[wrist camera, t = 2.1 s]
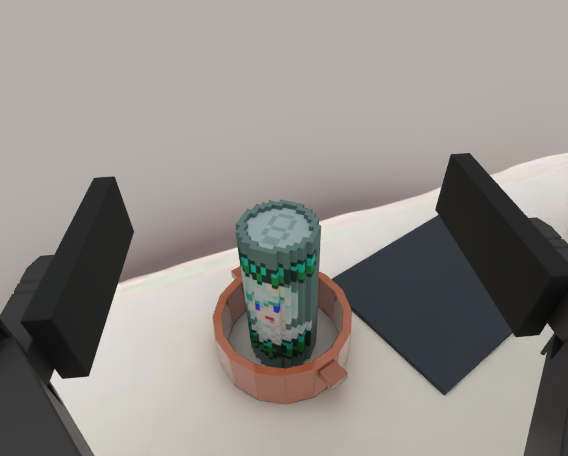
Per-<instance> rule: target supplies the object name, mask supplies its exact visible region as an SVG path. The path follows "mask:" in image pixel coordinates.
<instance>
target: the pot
mask: <svg viewBox="0 0 568 456" xmlns="http://www.w3.org/2000/svg"><path fill="white" fill-rule="evenodd" d="M231 272H232V277H233V278H234V279H235V280H234V281H233V282H232V283H231V284H230V285H229V286H228V287H227V288H226V289H225V291H224V292H223V293H222V294H221V295H220V297H219V300H218V303H217V306H216V308H215V311H214V314H213V324H214V332H215V339H216V343H217V347H218V352H219V356H220V360H221V364H222V367H223V368H224V370H225V371H226V373H227V374H228V376H229V377H230V379H231V380H232V382H233V383H234V385H235V386H236V387H238V388H239V389H241V390H243V391H244V392H246V393H247V394H249V395H251V396H252V397H254V398H256V399H257V400H261V401H268V402H275V403H282V404H286V403H287V404H288V403H292V402H296V401H300V400H304V399H308V398H312V397H315V396H316V395H317V394H319V393H320V392H321V391H323V390H324V389H325V388H327V387H328V388H329V389H330V390H333V389H334V388H335V387H337V386H338V385H339V384H341V383H342V382H343V381H345V380H346V379H347V374H348V373H347V372H346V371H345V370H344V369H343V366H344V364H345V362H346V361H347V356H348V348H349V341H350V334H351V312H352V310H351V307H350V305H349V303H348V301H347V299H346V296H345V294H344V292H343V290H342V289H341V288H340V287H339V286H338V285H337V284H336V283H334V282H333V281H332V280H331V279H330V278H329V277H328V276H327V275H325V274H323V273H321V272H319V282H318V305H317V306H319V307H320V308H321V309H322V310H323V311H324V312H325V313H326V314H327V315H328V316H329V317H330V318H331V319H332V320H333V322H334V325H335V327H336V330H337V332H338V334H339V335H338V337H337V339H336V340H335V342H334V344H333V346H332V347H331V349H329V350H328V351H327V352H325V353H324V354H322V355H321V356H319V357H318V358H317V359H315V360H314V361H312V362H311V363H307V364H303V365H299V366H294V367H290V368H286V369H284V368H276V367H268V366H261V365H257V364H255V363H254V362H252V361H250V360H248V359H246V358H245V357H243V356H241V355H239V354H237V353H236V351H235V350H234V348H233V347H232V346H231V344H230V343H229V341H228V339H229V335H230V332H231V329H232V325H233V324H234V323H235V322H236V321H237V319H238V318H239V317H240V316H241V315H242V313H243V312H244V311H245V310H246V302H245V295H244V288H243V281H242V274H241V267H238V268H236V269H234V270H232V271H231Z"/></svg>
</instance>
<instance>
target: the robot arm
mask: <svg viewBox="0 0 568 456" xmlns="http://www.w3.org/2000/svg"><path fill="white" fill-rule="evenodd" d="M435 210H436V211H437V213H438V215H439V216H440V218H441V219H442V221H443V222H444V224H445V226H446V227H447V229H448V230H449V232H450V234H451V235H452V237H453V238H454V240H455V242H456V243H457V245H458V246H459V248H460V249H461V251H462V253H463V254H464V256H465V257H466V259H467V261H468V262H469V264H470V265H471V267H472V269H473V270H474V272H475V273H476V275H477V276H478V278H479V280H480V281H481V283H482V284H483V286H484V288H485V289H486V291H487V292H488V294H489V296H490V297H491V299H492V300H493V302H494V303H495V305H496V307H497V308H498V310H499V311H500V313H501V315H502V316H503V318H504V319H505V321H506V323H507V324H508V326H509V327H510V329H511V330H512V332H513V334H514V335H515V337H523V336H534V335H540V333H541V332H542V330H543V328H544V327H545V325H546V324H547V323H548V324H549V326H550V327H551V329H552V330H553V331H554V334H553V336H552V337H551V338H550V340H549V341H548V343H547V344H546V345H545V347H544V348H543V350H542V351H541V353H540V354H542V355H545V353H546V352H547V355H546V359H545V363H544V368H543V372H542V377H541V381H540V385H539V390H538V394H537V399H536V403H535V407H534V412H533V416H532V421H531V425H530V429H529V434H528V438H527V443H526V447H525V451H524V456H568V244H567V242H566V241H565V240H564V239H561V236H560V235H559V234H558V233H557V232H556V231H555V230H554V229H553V228H552V227H551V226H550V225H548V224H546V223H545V222H543V221H542V220H540V219H538V218H528V217H527V216H526V215H525V214H524V213H523V212H522V211H521V210H520V208H519V207H518V206H517V205H516V204H515V203H514V202H513V201H512V200H511V199H510V197H509V196H508V195H507V194H506V193H505V192H504V191H503V190H502V189H501V187H500V186H499V185H498V184H497V183H496V182H495V181H494V180H493V179H492V177H491V176H490V175H489V174H488V173H487V172H486V171H485V170H484V169H483V168H482V166H481V165H480V164H479V163H478V162H477V161H476V160H475V159H474V158H473V156H472V155H471V154H470V153H464V154H451V156H450V159H449V163H448V166H447V170H446V173H445V177H444V180H443V184H442V188H441V191H440V195H439V198H438V202H437V205H436V209H435ZM133 233H134V230H133V228H132V225H131V222H130V219H129V216H128V213H127V210H126V208H125V205H124V202H123V199H122V196H121V193H120V191H119V188H118V185H117V182H116V179H115V177H100V178H94V179H93V181H92V183H91V185H90V187H89V189H88V191H87V192H86V195H85V196H84V199H83V201H82V202H81V204H80V206H79V208H78V210H77V212H76V214H75V216H74V218H73V220H72V222H71V224H70V226H69V227H68V230H67V231H66V233H65V235H64V237H63V239H62V241H61V243H60V245H59V247H58V249H57V251H56V253H55V255H48V256H40V257H39V258H37V259H36V260H35V261H34V262H33V263H32V264H31V265H30V266H29V267H28V268H27V269H26V271H25V273H24V274H23V276H22V278H21V280H20V283H19V284H18V285H17V287H16V288H15V290H14V294H12V295H11V297H10V299H9V301H8V302H7V304H6V306H5V308H4V309H3V311H2V313H1V315H0V456H94V454H93V452H92V451H91V449H90V447H89V446H88V444H87V442H86V441H85V439H84V437H83V435H82V434H81V432H80V430H79V429H78V427H77V425H76V424H75V422H74V420H73V419H72V417H71V415H70V413H69V412H68V410H67V408H66V407H65V405H64V403H63V402H62V400H61V398H60V397H59V395H58V393H57V391H56V390H55V388H54V386H53V385H52V384H51V382H50V379H51V376H52V374H53V371H54V369H55V370H56V371H57V372H58V374H59V375H60V376H61V378H62V379H65V378H76V377H87V376H89V374H90V371H91V368H92V364H93V361H94V358H95V355H96V352H97V348H98V345H99V342H100V339H101V336H102V332H103V329H104V326H105V323H106V320H107V316H108V313H109V310H110V307H111V304H112V300H113V297H114V294H115V291H116V288H117V284H118V281H119V278H120V274H121V272H122V268H123V265H124V262H125V259H126V255H127V252H128V249H129V246H130V243H131V239H132V236H133Z"/></svg>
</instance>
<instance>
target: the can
mask: <svg viewBox="0 0 568 456" xmlns="http://www.w3.org/2000/svg"><path fill="white" fill-rule="evenodd" d="M315 216H316V215H315V213H312V209H307V208H304V204H298V203H294V202H290V201H285V200H280V201H279V202H275V201H270V200H269V202H268V203H264V202H263V203H262V204H261V205H258V204H256V205H255V206H254V208H253V209H252V210H250V209H247V210H246V211H245V213H244V214H243V215H242V217H241V218H240V219H239V221H238V222H237V224H236V230H237V231H236V237H237V245H238V252H239V259H240V267H241V274H242V281H243V288H244V295H245V302H246V310H247V317H248V324H249V331H250V338H251V345H252V348H253V350H254V353H255V354H256V357H257V358H260V359H261V360H262V364H265V365H268V366H271V367H276V368H283V367H286V368H290V367H293V366H298V363H299V364H302V365H303V362H304V360H305V358H308V359H309V358H310V356H311V353H312V351H313V348H314V345H315V343H316V327H317V305H318V282H319V259H320V236H321V225H319V218H317V217H315Z"/></svg>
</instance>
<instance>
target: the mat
mask: <svg viewBox="0 0 568 456" xmlns="http://www.w3.org/2000/svg"><path fill="white" fill-rule="evenodd" d="M331 280H332V281H333V282H334V283H336V284H337V285H338V286H339V287H340V288H341V289H342V290H343V292H344V294H345V296H346V299H347V301H348V303H349V305H350V307H351V310H353V311H354V312H355V313H356V314H357V315H358V316H359V317H360V318H361V319H362V320H363V321H365V322H366V323H367V324H368V325H369V326H370V327H371V328H372V329H373V330H374V331H375V332H376V333H378V334H379V335H380V336H381V337H382V338H383V339H384V340H385V341H386V342H387V343H388V344H390V345H391V346H392V347H393V348H394V349H395V350H396V351H397V352H398V353H399V354H400V355H401V356H403V357H404V358H405V359H406V360H407V361H408V362H409V363H410V364H411V365H412V366H413V367H415V368H416V369H417V370H418V371H419V372H420V373H421V374H422V375H423V376H424V377H425V378H426V379H428V380H429V381H430V382H431V383H432V384H433V385H434V386H435V387H436V388H437V389H438V390H440V391H441V392H442V393H443V394H444V395H445V394H446V393H447V392H448V391H450V390H451V389H452V388H453V387H454V386H455V385H456V384H457V383H458V382H459V381H460V380H462V379H463V378H464V377H465V376H466V375H467V374H468V373H469V372H470V371H471V370H472V369H473V368H475V367H476V366H477V365H478V364H479V363H480V362H481V361H482V360H483V359H484V358H485V357H486V356H488V355H489V354H490V353H491V352H492V351H493V350H494V349H495V348H496V347H497V346H498V345H500V344H501V343H502V342H503V341H504V340H505V339H506V338H507V337H508V336H509V335H510V334H511V333H513V332H512V330H511V329H510V327H509V326H508V324H507V323H506V321H505V319H504V318H503V316H502V315H501V313H500V311H499V310H498V308H497V307H496V305H495V303H494V302H493V300H492V299H491V297H490V296H489V294H488V292H487V291H486V289H485V288H484V286H483V284H482V283H481V281H480V280H479V278H478V276H477V275H476V273H475V272H474V270H473V269H472V267H471V265H470V264H469V262H468V261H467V259H466V257H465V256H464V254H463V253H462V251H461V249H460V248H459V246H458V245H457V243H456V242H455V240H454V238H453V237H452V235H451V234H450V232H449V230H448V229H447V227H446V226H445V224H444V222H443V221H442V219H441V218H440V216H439V215H438V216H436V217H434V218H433V219H431V220H429V221H428V222H426V223H424V224H423V225H421V226H419V227H418V228H416V229H414V230H413V231H411V232H409V233H408V234H406V235H404V236H403V237H401V238H399V239H398V240H396V241H394V242H393V243H391V244H389V245H388V246H386V247H384V248H383V249H381V250H379V251H378V252H376V253H374V254H373V255H371V256H369V257H368V258H366V259H364V260H363V261H361V262H359V263H358V264H356V265H354V266H353V267H351V268H349V269H348V270H346V271H344V272H343V273H341V274H339V275H338V276H336V277H334V278H333V279H331Z"/></svg>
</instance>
